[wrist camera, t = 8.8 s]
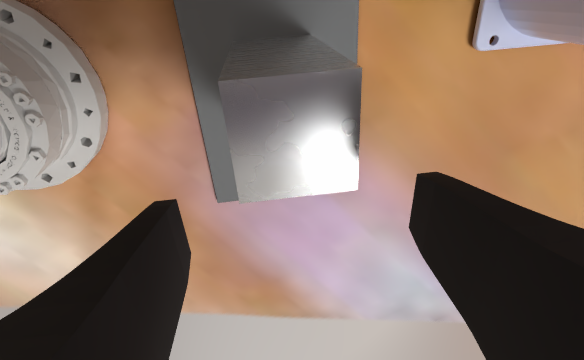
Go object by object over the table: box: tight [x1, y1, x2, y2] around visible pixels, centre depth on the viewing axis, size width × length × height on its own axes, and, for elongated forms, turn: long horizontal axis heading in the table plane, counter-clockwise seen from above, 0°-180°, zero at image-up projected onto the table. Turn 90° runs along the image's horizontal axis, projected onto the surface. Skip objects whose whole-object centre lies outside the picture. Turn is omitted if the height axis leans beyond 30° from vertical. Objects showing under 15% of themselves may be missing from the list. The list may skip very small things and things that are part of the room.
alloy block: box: [218, 34, 362, 203], centre depth 14 cm, size 4×4×9 cm
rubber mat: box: [173, 0, 359, 203], centre depth 18 cm, size 9×14×1 cm, turn 4°
